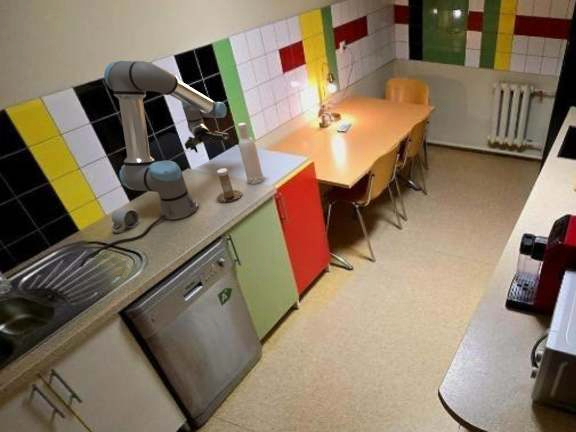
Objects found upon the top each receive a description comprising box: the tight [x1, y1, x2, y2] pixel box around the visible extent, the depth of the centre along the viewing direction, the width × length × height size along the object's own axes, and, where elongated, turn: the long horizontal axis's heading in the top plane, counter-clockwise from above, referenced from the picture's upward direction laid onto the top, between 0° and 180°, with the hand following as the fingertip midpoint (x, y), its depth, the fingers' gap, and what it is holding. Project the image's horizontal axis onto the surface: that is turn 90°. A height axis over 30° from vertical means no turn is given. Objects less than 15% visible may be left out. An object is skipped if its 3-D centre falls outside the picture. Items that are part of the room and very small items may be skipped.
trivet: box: [217, 189, 243, 204], centre depth 199 cm, size 11×11×1 cm
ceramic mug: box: [111, 208, 140, 234], centre depth 179 cm, size 11×8×8 cm
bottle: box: [237, 122, 264, 185], centre depth 204 cm, size 8×8×30 cm
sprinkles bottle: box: [216, 168, 234, 198], centre depth 195 cm, size 5×5×14 cm
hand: (211, 146), depth 194 cm, fingers open, 13 cm apart
